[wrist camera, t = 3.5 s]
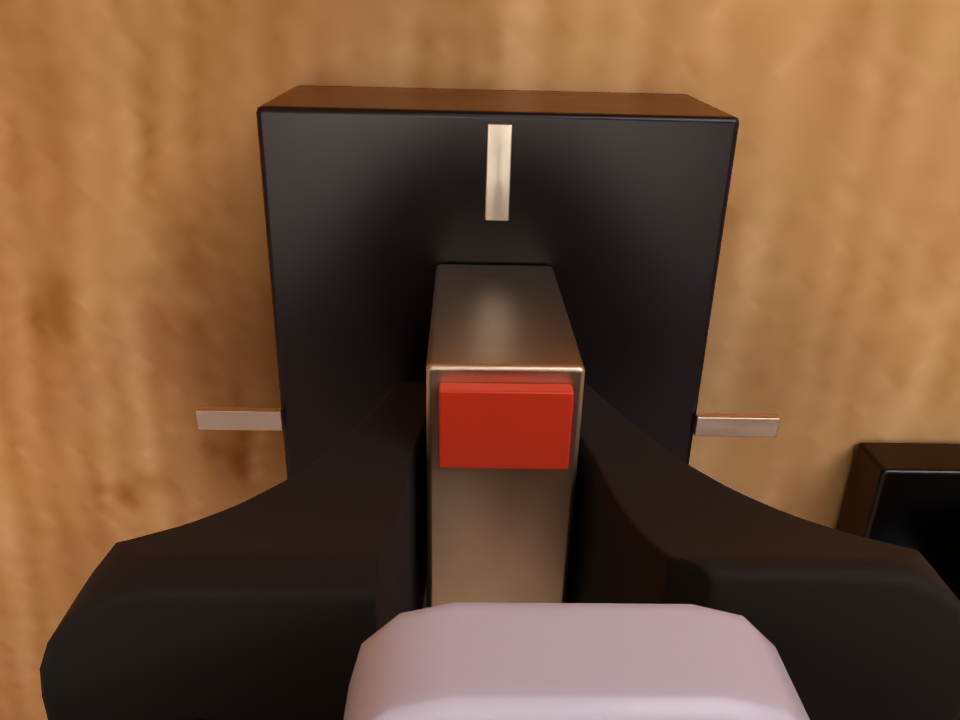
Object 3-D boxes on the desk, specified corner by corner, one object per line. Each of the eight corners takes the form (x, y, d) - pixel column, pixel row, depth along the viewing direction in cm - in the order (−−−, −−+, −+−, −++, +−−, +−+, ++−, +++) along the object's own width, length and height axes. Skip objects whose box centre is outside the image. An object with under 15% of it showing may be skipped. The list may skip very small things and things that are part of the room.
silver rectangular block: (535, 555, 15) (558, 740, 11) (436, 554, 15) (426, 740, 11) (553, 264, 13) (589, 377, 9) (436, 262, 13) (424, 373, 9)
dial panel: (692, 553, 19) (734, 656, 16) (264, 549, 18) (227, 652, 16) (765, 95, 15) (839, 120, 12) (216, 82, 14) (154, 105, 11)
